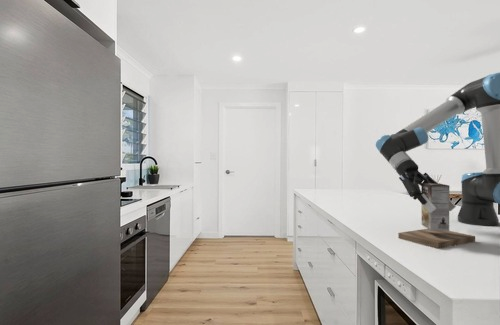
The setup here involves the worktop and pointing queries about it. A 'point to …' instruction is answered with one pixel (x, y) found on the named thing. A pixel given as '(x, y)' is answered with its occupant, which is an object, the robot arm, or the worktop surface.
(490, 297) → the worktop surface
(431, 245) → the walnut board
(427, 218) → the coffee box
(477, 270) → the worktop surface
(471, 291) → the worktop surface
